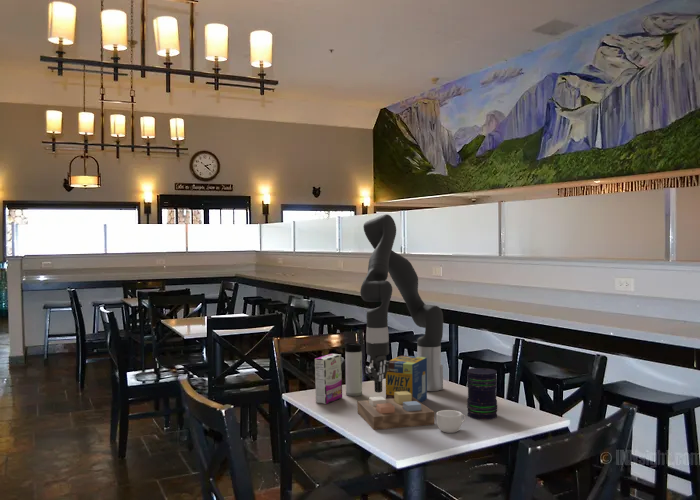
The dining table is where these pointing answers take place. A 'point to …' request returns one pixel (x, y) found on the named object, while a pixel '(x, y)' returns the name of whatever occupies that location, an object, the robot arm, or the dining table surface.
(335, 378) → the candy bar box
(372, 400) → the white block
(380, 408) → the terracotta key
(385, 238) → the robot arm
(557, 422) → the dining table surface
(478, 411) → the storage jar
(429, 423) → the brown flat wooden block
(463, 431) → the dining table surface
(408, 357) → the protein box
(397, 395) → the ochre key
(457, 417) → the teacup
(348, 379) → the travel mug
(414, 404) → the light blue block
